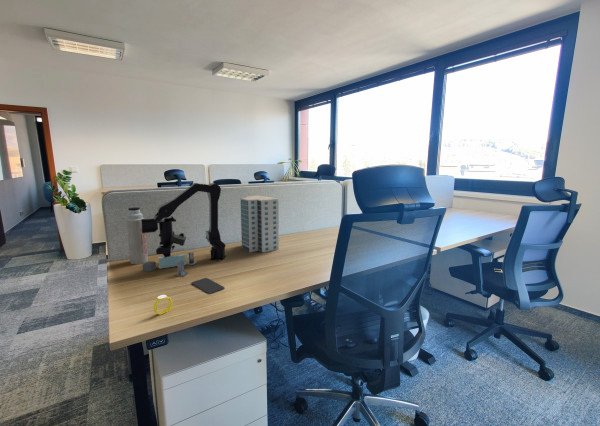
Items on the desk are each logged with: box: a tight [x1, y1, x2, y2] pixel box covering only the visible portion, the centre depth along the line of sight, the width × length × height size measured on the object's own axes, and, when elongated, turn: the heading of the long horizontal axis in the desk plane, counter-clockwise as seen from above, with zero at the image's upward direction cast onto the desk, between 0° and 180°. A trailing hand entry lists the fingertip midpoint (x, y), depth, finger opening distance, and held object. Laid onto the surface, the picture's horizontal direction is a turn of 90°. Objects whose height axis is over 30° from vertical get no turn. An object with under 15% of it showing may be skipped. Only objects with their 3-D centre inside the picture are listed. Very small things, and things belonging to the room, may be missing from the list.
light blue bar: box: [158, 253, 187, 269], centre depth 139 cm, size 2×12×6 cm, turn 118°
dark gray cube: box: [142, 260, 157, 272], centre depth 135 cm, size 4×4×4 cm
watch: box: [152, 294, 173, 316], centre depth 96 cm, size 6×3×6 cm, turn 146°
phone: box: [191, 277, 226, 295], centre depth 118 cm, size 7×1×15 cm
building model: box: [239, 195, 280, 253], centre depth 169 cm, size 20×16×30 cm
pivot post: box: [186, 251, 197, 266], centre depth 143 cm, size 4×4×6 cm
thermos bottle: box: [125, 206, 149, 265], centre depth 144 cm, size 8×8×28 cm
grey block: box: [176, 261, 189, 277], centre depth 129 cm, size 3×4×6 cm
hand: (168, 261), depth 140 cm, fingers closed
